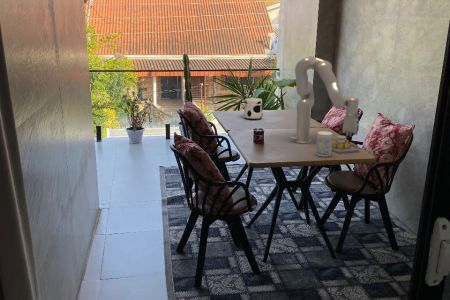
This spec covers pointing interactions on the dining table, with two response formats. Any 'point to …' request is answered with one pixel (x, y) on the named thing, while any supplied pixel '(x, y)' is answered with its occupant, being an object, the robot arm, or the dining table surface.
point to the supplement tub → (324, 144)
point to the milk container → (253, 108)
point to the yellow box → (341, 146)
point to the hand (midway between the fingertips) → (349, 141)
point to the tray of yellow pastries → (339, 151)
